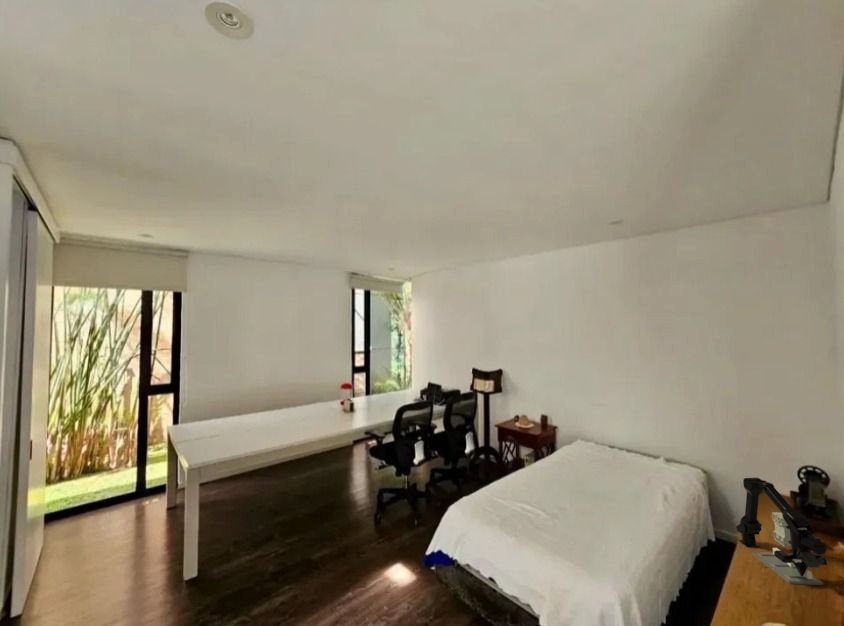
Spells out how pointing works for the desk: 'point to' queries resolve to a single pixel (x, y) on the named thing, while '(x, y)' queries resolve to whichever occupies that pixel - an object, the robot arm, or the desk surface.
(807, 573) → the handle
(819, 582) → the plate
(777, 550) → the handle left
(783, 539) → the circuit breaker
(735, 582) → the desk surface
